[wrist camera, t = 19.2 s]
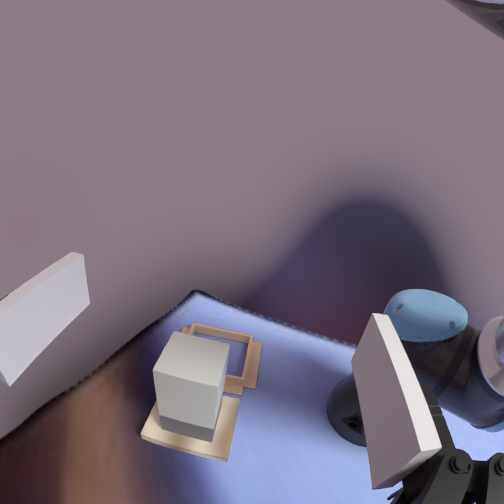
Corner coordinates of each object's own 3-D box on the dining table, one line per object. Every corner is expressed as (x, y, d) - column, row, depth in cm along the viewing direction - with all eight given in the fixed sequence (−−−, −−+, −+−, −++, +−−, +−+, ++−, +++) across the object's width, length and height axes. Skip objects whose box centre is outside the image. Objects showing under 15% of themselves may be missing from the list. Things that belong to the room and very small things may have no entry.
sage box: (221, 405, 37) (230, 343, 32) (212, 442, 30) (218, 387, 25) (176, 394, 37) (174, 330, 32) (162, 429, 31) (152, 369, 26)
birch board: (239, 404, 39) (240, 399, 38) (226, 462, 29) (227, 458, 28) (166, 386, 40) (165, 380, 39) (142, 438, 29) (140, 433, 29)
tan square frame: (262, 337, 56) (264, 331, 55) (253, 398, 41) (255, 391, 40) (186, 321, 56) (186, 314, 56) (158, 375, 41) (157, 368, 41)
